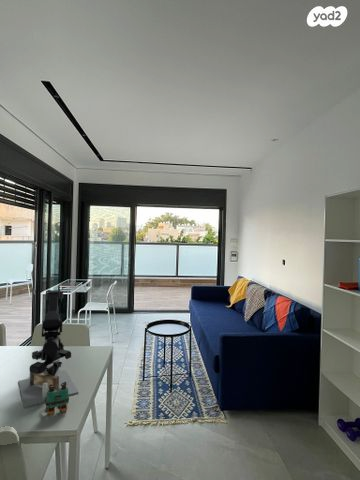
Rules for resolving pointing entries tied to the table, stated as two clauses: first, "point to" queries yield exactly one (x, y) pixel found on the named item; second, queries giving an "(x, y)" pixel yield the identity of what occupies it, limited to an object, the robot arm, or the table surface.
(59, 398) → the binoculars
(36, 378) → the wooden bar with ends
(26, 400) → the gate base
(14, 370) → the table surface
